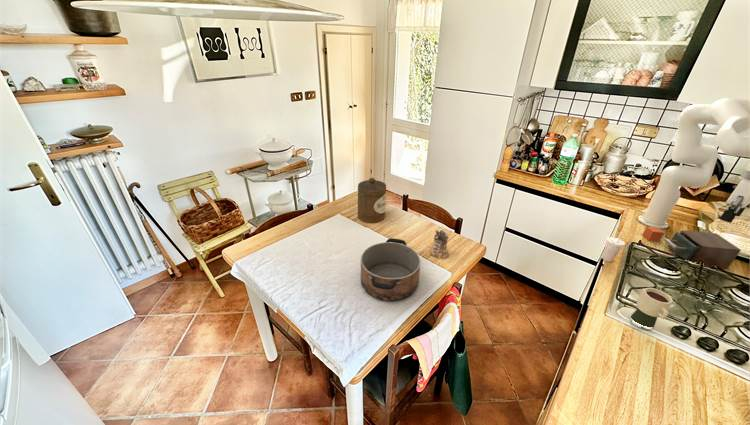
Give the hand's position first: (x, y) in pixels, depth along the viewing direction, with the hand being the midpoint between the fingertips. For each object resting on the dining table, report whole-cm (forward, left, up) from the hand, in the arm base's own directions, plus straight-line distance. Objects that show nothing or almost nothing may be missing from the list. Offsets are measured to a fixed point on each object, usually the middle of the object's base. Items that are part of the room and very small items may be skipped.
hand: (729, 217), depth 118 cm
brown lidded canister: (-16, -144, -24) cm, 147 cm away
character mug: (+39, -42, -24) cm, 62 cm away
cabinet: (-8, +5, -24) cm, 26 cm away
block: (-22, -6, -24) cm, 33 cm away
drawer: (-8, 0, -23) cm, 24 cm away
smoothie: (+1, -36, -24) cm, 43 cm away
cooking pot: (+33, -128, -24) cm, 134 cm away
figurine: (+11, -109, -24) cm, 112 cm away
